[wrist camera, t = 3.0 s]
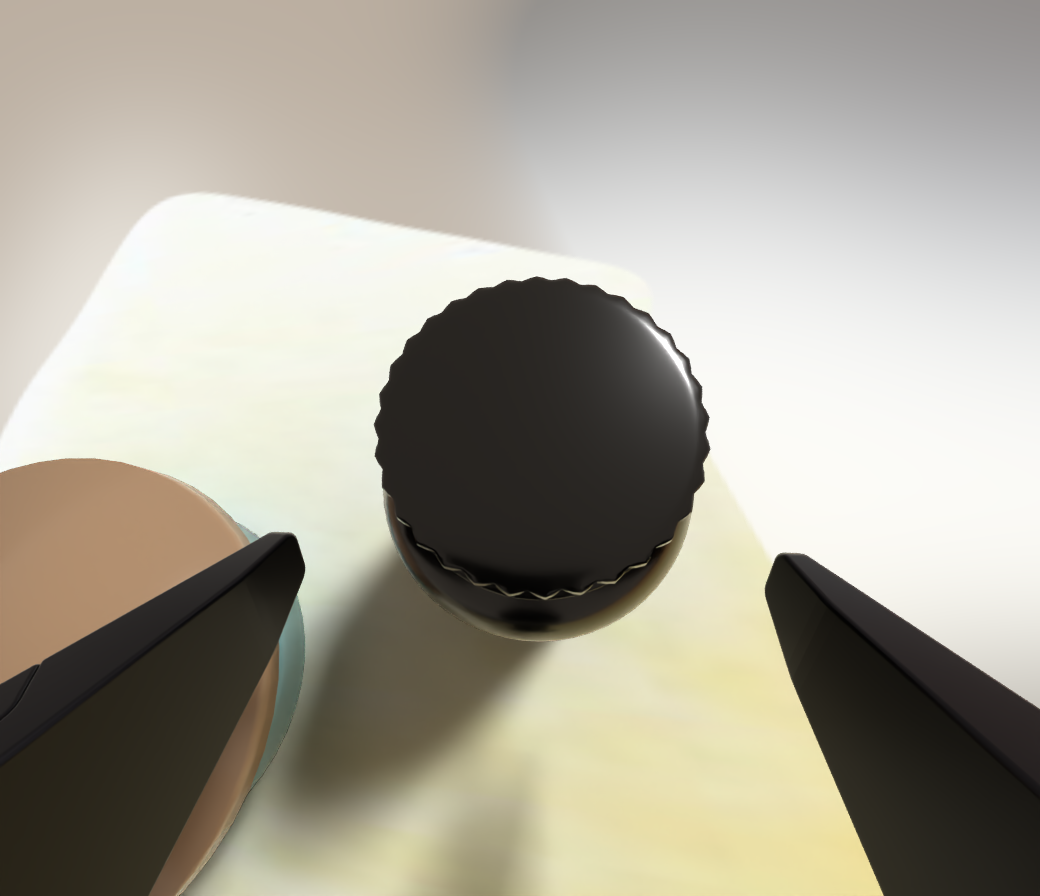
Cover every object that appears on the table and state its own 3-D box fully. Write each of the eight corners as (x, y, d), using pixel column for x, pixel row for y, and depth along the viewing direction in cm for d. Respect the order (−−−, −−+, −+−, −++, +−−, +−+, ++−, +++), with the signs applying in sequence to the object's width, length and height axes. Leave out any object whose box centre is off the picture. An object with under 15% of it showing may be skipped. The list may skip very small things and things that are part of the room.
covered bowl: (213, 980, 14) (69, 1159, 10) (-125, 800, 16) (-372, 884, 12) (390, 551, 18) (342, 542, 13) (97, 442, 19) (-30, 404, 15)
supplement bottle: (460, 625, 17) (290, 734, 5) (440, 452, 19) (283, 252, 7) (640, 595, 17) (867, 636, 5) (602, 425, 19) (706, 183, 7)
